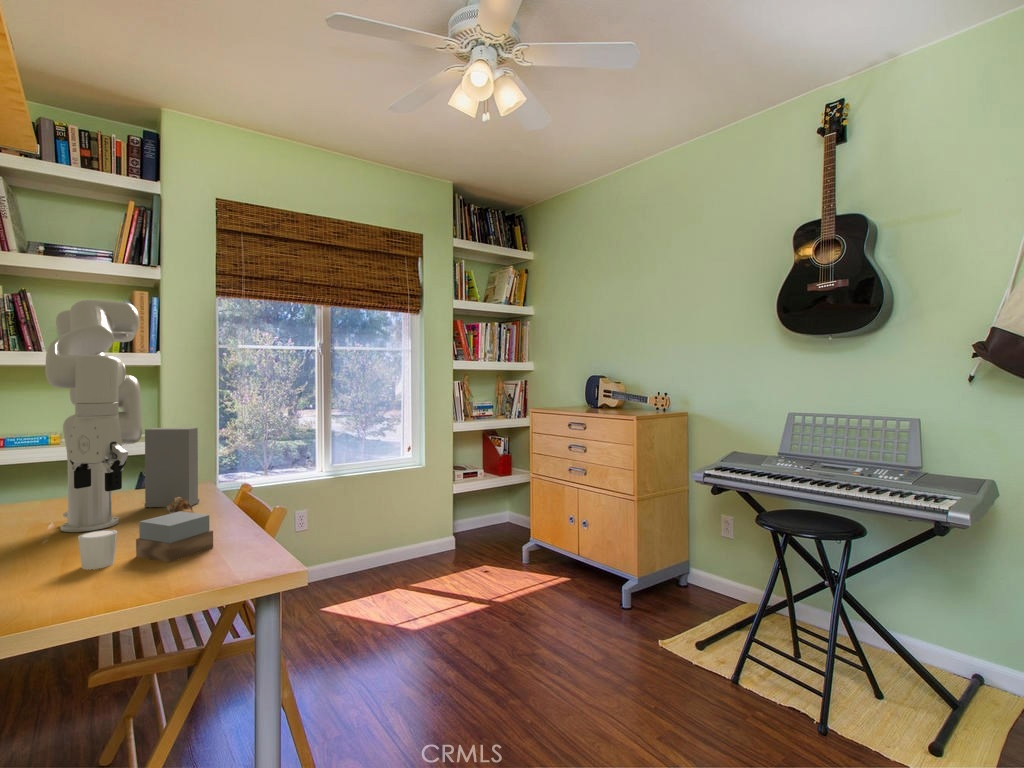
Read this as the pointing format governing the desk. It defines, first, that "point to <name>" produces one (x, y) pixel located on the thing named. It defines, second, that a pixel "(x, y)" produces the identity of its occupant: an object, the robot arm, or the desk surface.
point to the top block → (173, 527)
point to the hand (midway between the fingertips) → (97, 488)
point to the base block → (174, 547)
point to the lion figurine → (180, 505)
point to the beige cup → (97, 549)
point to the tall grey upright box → (171, 466)
